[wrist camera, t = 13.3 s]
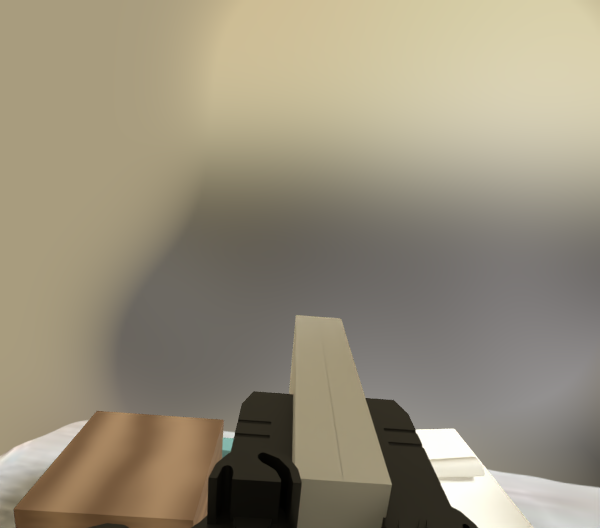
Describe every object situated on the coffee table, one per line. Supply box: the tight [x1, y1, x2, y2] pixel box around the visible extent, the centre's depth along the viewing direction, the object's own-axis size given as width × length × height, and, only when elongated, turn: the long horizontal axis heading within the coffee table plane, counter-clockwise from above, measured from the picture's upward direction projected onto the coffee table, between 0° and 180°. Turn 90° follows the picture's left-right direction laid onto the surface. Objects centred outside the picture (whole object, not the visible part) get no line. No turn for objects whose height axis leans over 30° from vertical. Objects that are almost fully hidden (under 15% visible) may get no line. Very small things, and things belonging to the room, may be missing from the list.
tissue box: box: [416, 429, 533, 528], centre depth 41 cm, size 14×25×11 cm, turn 98°
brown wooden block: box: [14, 411, 224, 528], centre depth 35 cm, size 14×12×8 cm
